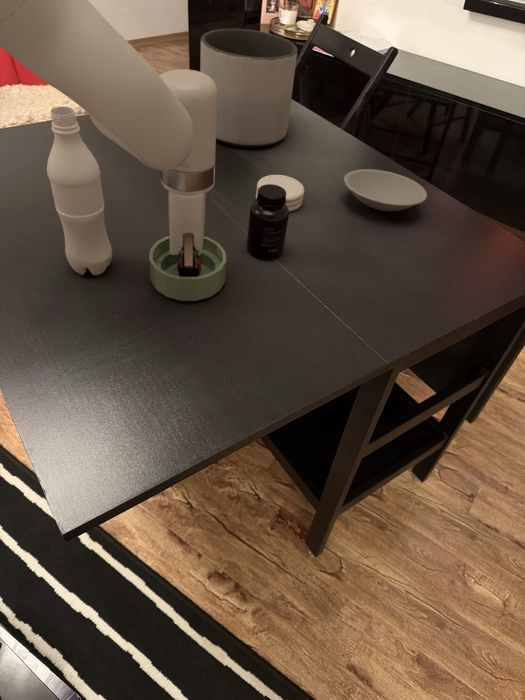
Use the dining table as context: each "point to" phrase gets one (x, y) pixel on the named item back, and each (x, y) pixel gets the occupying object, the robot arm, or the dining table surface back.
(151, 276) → the bowl
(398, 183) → the dish
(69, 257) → the water bottle
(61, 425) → the dining table surface
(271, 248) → the supplement bottle
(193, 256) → the cherry tomato
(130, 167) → the dining table surface
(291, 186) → the white round flat stack
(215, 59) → the planter
